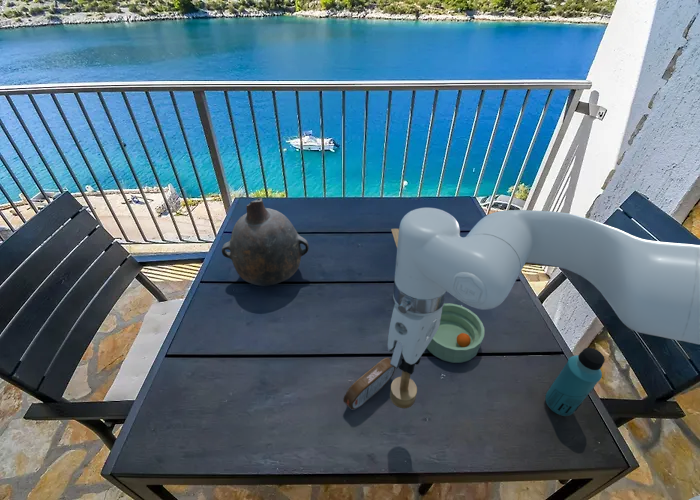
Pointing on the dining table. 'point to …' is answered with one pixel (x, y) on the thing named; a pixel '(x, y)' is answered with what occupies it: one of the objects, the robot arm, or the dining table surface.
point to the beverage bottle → (575, 382)
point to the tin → (369, 384)
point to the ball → (463, 340)
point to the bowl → (456, 334)
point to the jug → (264, 246)
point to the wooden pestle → (403, 391)
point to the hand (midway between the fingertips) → (407, 363)
